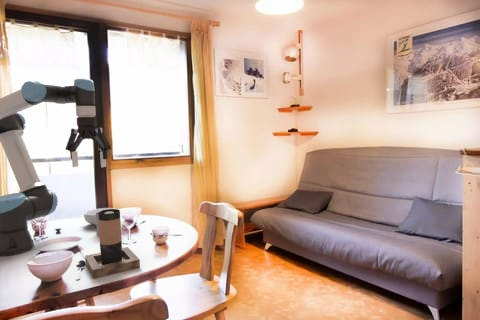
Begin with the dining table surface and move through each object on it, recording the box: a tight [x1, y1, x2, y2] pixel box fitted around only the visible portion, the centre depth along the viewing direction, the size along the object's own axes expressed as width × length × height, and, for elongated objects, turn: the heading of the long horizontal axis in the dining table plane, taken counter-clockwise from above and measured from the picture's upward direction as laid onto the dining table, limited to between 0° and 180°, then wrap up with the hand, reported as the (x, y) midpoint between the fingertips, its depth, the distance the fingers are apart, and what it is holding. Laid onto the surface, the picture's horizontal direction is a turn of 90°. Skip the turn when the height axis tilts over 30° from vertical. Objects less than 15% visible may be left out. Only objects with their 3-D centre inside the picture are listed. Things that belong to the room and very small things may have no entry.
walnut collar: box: [84, 246, 141, 279], centre depth 129 cm, size 16×16×3 cm
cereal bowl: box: [83, 207, 117, 227], centre depth 184 cm, size 17×17×7 cm
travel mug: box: [98, 208, 123, 265], centre depth 128 cm, size 8×8×20 cm
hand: (89, 166), depth 147 cm, fingers open, 13 cm apart
